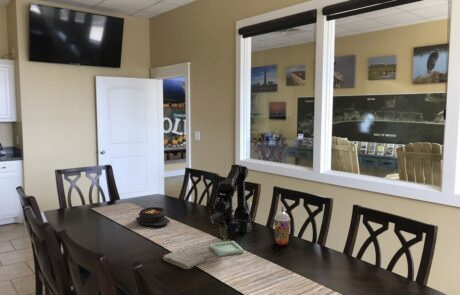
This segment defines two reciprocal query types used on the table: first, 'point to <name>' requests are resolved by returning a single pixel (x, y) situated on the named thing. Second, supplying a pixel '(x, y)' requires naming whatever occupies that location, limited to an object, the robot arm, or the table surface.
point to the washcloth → (183, 259)
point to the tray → (226, 248)
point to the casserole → (152, 216)
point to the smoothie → (282, 228)
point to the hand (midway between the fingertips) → (226, 237)
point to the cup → (223, 232)
